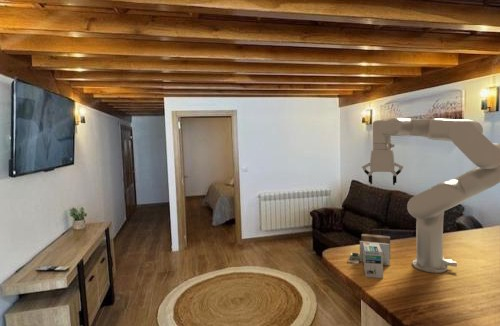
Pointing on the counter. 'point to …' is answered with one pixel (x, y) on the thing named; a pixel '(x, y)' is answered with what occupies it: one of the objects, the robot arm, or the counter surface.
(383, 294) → the counter surface
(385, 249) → the plate
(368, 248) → the light bulb box
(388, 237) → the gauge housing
